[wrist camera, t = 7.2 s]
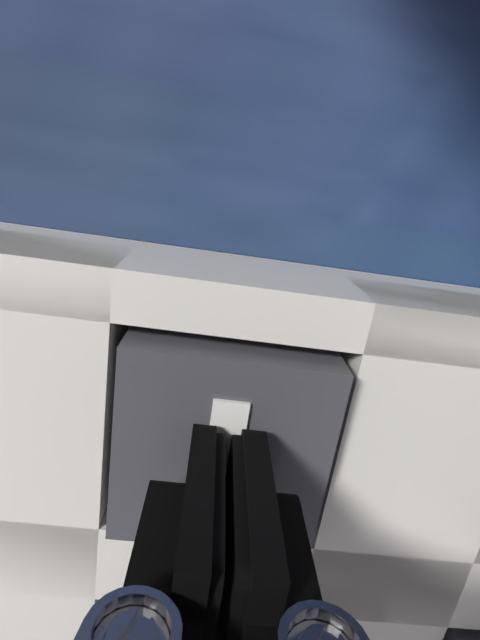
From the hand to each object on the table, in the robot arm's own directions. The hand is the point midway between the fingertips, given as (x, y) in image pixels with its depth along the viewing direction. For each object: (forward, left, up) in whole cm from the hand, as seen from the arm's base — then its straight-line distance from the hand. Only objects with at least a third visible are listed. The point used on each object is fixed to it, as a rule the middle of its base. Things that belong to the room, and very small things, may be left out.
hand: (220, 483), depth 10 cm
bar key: (0, 0, -3) cm, 3 cm away
